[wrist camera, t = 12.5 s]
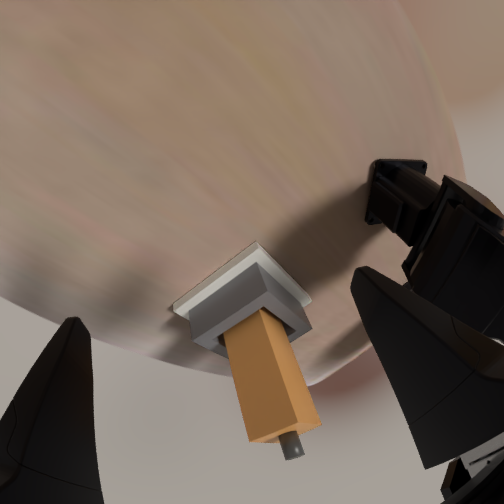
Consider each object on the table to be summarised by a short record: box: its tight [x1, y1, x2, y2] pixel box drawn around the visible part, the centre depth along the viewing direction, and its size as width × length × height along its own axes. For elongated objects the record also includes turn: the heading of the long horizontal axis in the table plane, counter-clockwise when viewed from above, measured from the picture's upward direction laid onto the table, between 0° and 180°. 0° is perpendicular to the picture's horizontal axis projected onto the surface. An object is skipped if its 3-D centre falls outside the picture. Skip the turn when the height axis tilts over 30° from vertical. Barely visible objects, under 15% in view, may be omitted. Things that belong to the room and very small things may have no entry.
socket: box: [173, 241, 313, 359], centre depth 26 cm, size 10×10×4 cm
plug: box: [223, 306, 322, 460], centre depth 21 cm, size 4×4×15 cm
